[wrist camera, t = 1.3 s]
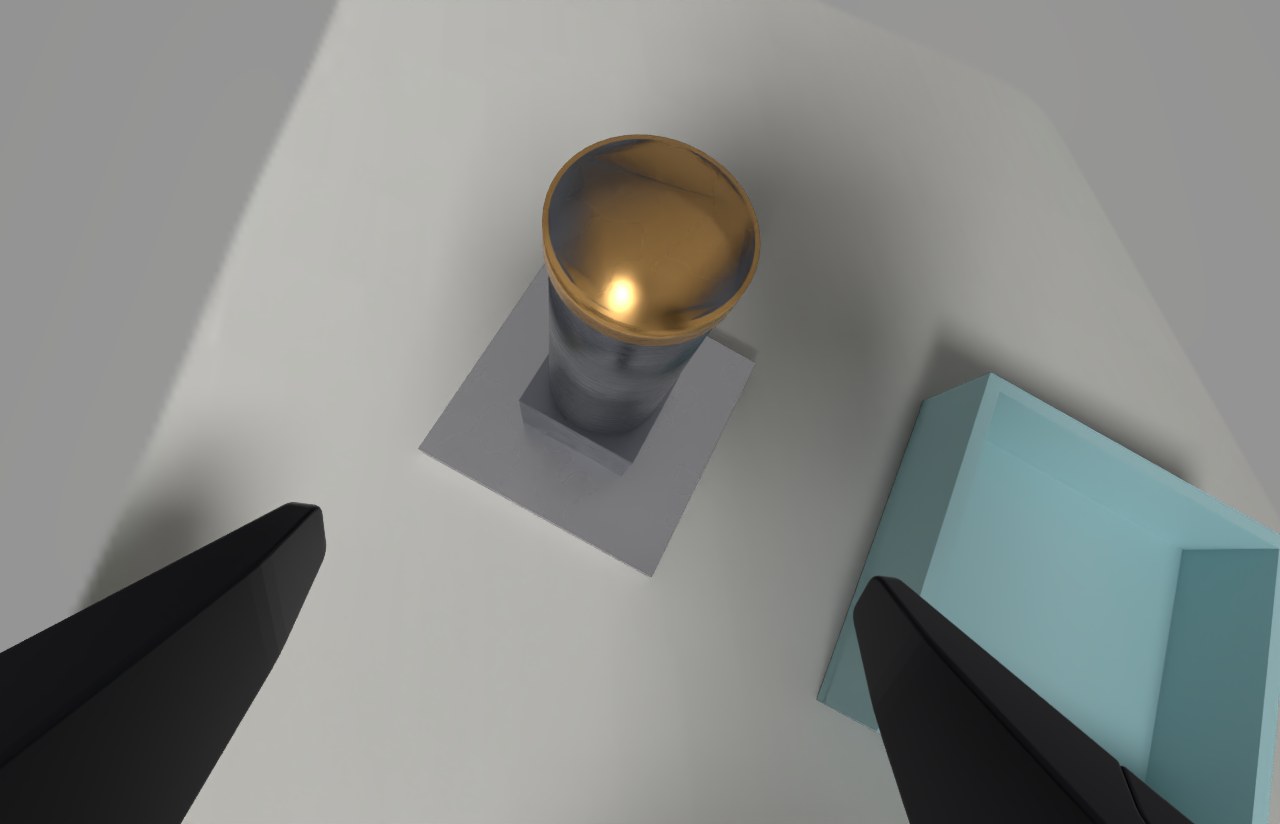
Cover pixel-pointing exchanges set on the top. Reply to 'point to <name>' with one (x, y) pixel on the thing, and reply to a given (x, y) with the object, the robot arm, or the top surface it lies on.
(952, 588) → the tray
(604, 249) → the grey gold-rimmed cylinder
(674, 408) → the stud plate
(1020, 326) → the top surface
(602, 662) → the top surface
